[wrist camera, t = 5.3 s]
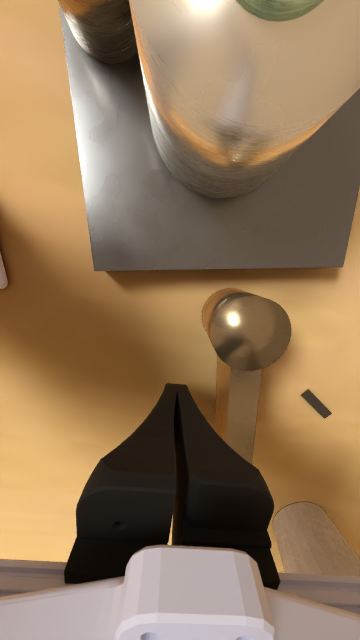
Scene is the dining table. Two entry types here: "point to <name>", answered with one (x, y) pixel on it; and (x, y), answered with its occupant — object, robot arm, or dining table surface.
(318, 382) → the dining table surface
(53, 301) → the dining table surface
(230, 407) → the ball-topped bar
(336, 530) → the house plant
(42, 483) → the dining table surface
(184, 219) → the levelling base
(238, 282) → the dining table surface
